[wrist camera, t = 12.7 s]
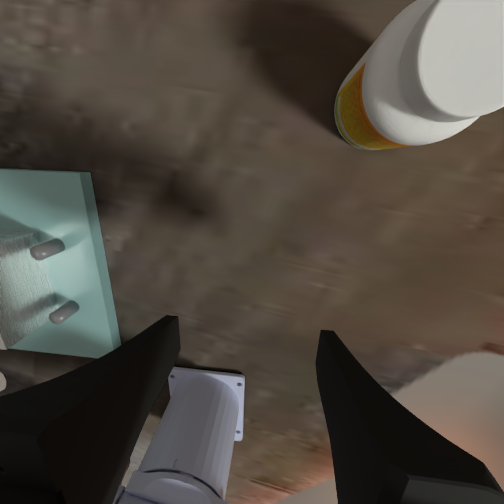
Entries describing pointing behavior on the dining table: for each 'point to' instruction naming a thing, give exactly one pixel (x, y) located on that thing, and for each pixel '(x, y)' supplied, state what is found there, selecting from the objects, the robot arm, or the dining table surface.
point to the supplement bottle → (425, 75)
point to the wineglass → (2, 382)
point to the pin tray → (64, 258)
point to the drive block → (22, 287)
